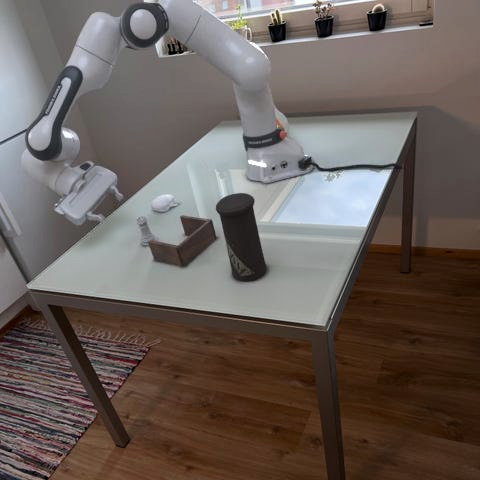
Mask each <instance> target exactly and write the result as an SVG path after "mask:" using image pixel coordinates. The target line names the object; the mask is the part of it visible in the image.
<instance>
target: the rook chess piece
mask: <svg viewBox="0 0 480 480" xmlns="http://www.w3.org/2000/svg"><path fill="white" fill-rule="evenodd" d="M136 224H137V225H138V229H140V234H141V236H140V242H141V245H143V246H144V247H149V244H148V241H150V240H152V241H157V238H156V235H155V234H154V233H153V232H152V231H151V229H150V227H149V224H148V219H147V217H146V216H145V215H144V216H143V215H141V216H138V217H137V218H136Z"/></svg>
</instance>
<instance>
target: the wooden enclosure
mask: <svg viewBox="0 0 480 480" xmlns="http://www.w3.org/2000/svg"><path fill="white" fill-rule="evenodd" d="M179 219H180V221H181V222H180V223H181V226H182V229H183V232H184V235H185V236H187V237H186V238H185V239H184V240H182V241H181V242H180V243H179V244H173V243H167V242H162V241H157V240H156V241H152V240H150V241H148V244H149V246H148V247H149V249H150V252H151V255H152V258H153V260H154V261H155V262H160V263H164V264H168V265H173V266H178V267H182V268H185V267H186V266H187V265H189V264H190V263H192V261H193V260H194V259H196V257H197V256H199V255H200V254H201V253H202V252H203V251H205V250H206V249H207V248H208V247H209V246H210V245H211V244H212V243H213V242H215V241H216V240H217V239H218V237H217V234H216V229H215V225H214V221H213V219H211V218H204V217H197V216H191V215H180V216H179Z"/></svg>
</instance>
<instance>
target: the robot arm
mask: <svg viewBox="0 0 480 480" xmlns="http://www.w3.org/2000/svg"><path fill="white" fill-rule="evenodd" d="M164 36H169V37H171V38H173V39H175V40H176V41H178V42H179V43H180V44H181V45H184V46H185V48H188V49H189V50H190V51H192V52H193V53H195V54H196V55H197V56H199V57H201V58H202V59H203V60H205V61H206V62H208V63H209V64H210V65H211V66H212V67H214V68H215V69H216V70H218V71H219V72H220V73H222V74H223V75H224V76H226V78H228V79H229V80H231V82H232V86H233V87H232V88H233V91H234V95H235V99H236V104H237V108H238V112H239V118H240V123H241V128H242V144H243V147H244V150H245V152H246V178H247V179H248V180H251V181H255V182H260V183H263V184H270V183H274V182H278V181H282V180H286V179H289V178H294V177H297V176H301V175H302V176H303V175H306V174H310V173H311V171H312V170H313V168H314V167H315V168H316V169H317V170H318V171H319V172H320V171H321V172H333V171H343V170H352V169H358V168H359V169H360V168H366V169H367V168H370V169H387V168H392V167H395V168H398V169H399V170H404V167H403V166H402V165H401V164H399V163H396V162H393V163H387V164H369V163H368V164H367V163H366V164H365V163H361V164H352V165H344V166H334V167H328V168H325V167H320V165H319V164H317V163H316V162H313V158H312V156H310V155H307V154H306V153H305V151H304V149H303V147H302V145H301V144H300V143H298V142H297V141H294V140H293V139H291V138H288V137H287V133H286V132H285V131H284V128H283V127H282V126H281V127H280V126H277V122H276V116H275V109H274V105H275V103H274V99H273V96H272V91H271V86H270V80H271V76H272V65H271V61H270V59H269V57H268V56H267V55H266V53H264V51H263V50H262V49H261V48H260V47H259V46H258V45H257V44H256V43H254V42H250V41H249V40H247V39H246V38H245V37H244V36H242V35H241V34H240V33H238V32H237V31H236V30H235V29H233V28H232V27H231V26H230V25H229V24H227V23H226V22H224V21H223V20H221V19H220V18H219V17H218V16H216V15H215V14H213V13H212V12H211V11H209V10H208V9H206V8H205V7H204V6H203V5H201V4H200V3H198V2H197V1H195V0H157V2H146V1H137V2H134V3H133V2H132V3H131V4H129V5H128V6H127V7H126V8H125V9H124V10H123V11H122V13H121V15H120V16H118V17H117V16H112V15H111V14H110V13H107V12H104V11H95V12H93V13H92V14H91V15H89V17H88V18H87V20H86V22H85V23H84V25H83V27H82V29H81V31H80V33H79V36H78V37H77V39H76V42H75V45H74V47H73V50H72V52H71V54H70V57H69V59H68V61H67V63H66V65H65V66H64V67H63V69H62V71H60V73H59V74H58V76H57V78H56V80H55V82H54V84H53V86H52V88H51V90H50V92H49V94H48V96H47V98H46V100H45V102H44V105H43V106H42V109H41V111H40V112H39V114H38V115H37V117H36V118H35V120H33V121H32V122H31V124H30V125H29V126H28V127H27V129H26V131H25V135H24V142H25V146H26V148H25V149H24V150H23V152H22V154H21V158H20V165H21V168H22V170H23V172H24V173H25V174H26V175H28V177H30V178H31V179H33V180H34V181H35V182H37V183H39V184H40V185H42V186H44V187H47V188H49V189H51V190H52V191H53V192H54V193H56V194H57V195H59V196H61V197H60V198H59V200H58V201H56V202H55V203H54V207H53V208H54V209H53V210H54V212H55V213H57V214H58V215H59V216H63V217H64V218H65V219H66V220H68V221H69V222H70V223H72V224H74V225H75V226H82V225H83V223H85V221H86V220H89V221H97V222H99V223H103V222H105V220H106V217H105V215H103V214H102V213H99V214H93V212H94V211H95V210H96V208H97V207H99V205H100V204H101V203H102V202H103V201H104V200H105V198H106V197H107V196H108V195H109V194H114V195H115V197H114V199H115V200H117V201H118V202H121V201H122V200H123V199H124V195H123V194H122V193H120V192H119V190H118V189H117V187H116V186H117V185H118V177H117V174H116V173H115V172H113V171H111V170H110V169H108V168H105V167H103V166H101V165H94V163H93V162H92V161H91V160H86V161H85V162H83V163H81V164H79V165H76V166H74V167H71V166H72V165H73V164H74V162H75V161H76V159H77V158H78V157H79V154H80V152H81V148H82V143H81V139H80V137H79V135H78V134H77V133H76V132H75V131H74V130H73V129H71V128H68V127H64V124H65V123H66V120H67V118H68V116H69V114H70V112H71V111H72V108H73V106H74V104H75V102H76V101H77V100H78V99H79V98H80V97H82V96H83V95H85V94H87V93H90V92H95V91H98V90H100V89H102V88H103V87H104V86H106V83H107V81H108V80H109V78H110V77H111V75H112V72H113V69H114V67H115V65H116V62H117V59H118V57H119V55H120V53H121V52H122V50H123V49H124V48H126V49H131V50H134V51H147V50H150V49H152V48H154V46H155V45H157V43H158V42H160V40H161V39H162V38H163V37H164Z"/></svg>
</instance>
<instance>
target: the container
mask: <svg viewBox="0 0 480 480" xmlns="http://www.w3.org/2000/svg"><path fill="white" fill-rule="evenodd" d="M254 206H255V197H254V196H252V194H249V193H245V192H238V193H237V192H236V193H233V194H231V193H230V194H228V195H226V196H224V197H222V198H221V199H219V201H217V202H216V204H215V211H216V212H217V214H218V215H219V219H220V221H221V222H220V224H221V227H222V232H223V237H224V241H225V246H226V250H227V255H228V259H229V264H230V269H231V274H232V276H233V278H234V279H235V280H237V281H241V282H251V281H254V280H255V281H256V280H258V279H260V278H262V277H263V276H264V275H265V274H266V272H267V264H266V260H265V255H264V252H263V251H264V250H263V246H262V243H261V237H260V232H259V229H258V223H257V219H256V214H255V213H256V212H255V209H254Z"/></svg>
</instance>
